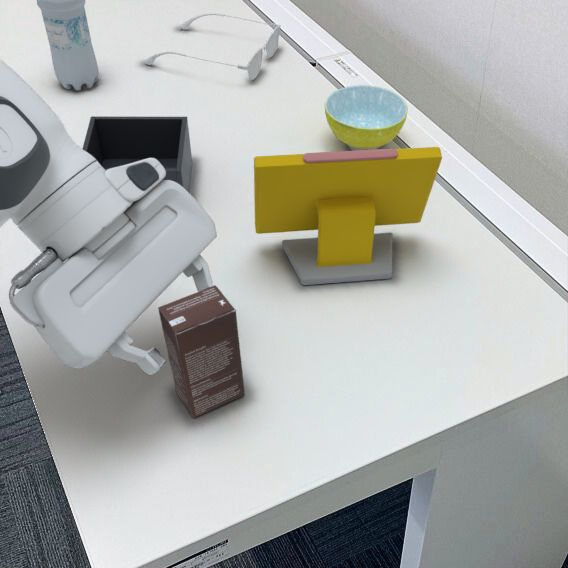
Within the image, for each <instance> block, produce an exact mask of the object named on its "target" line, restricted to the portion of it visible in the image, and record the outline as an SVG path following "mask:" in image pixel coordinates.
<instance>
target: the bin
mask: <svg viewBox="0 0 568 568" xmlns="http://www.w3.org/2000/svg"><path fill="white" fill-rule="evenodd" d="M88 122H89V123H88V127H87V130H86V133H85V137H84V142H83V145H82V147H81V148H82V149H83V150H84V151H86V152H88V153H89V154H90V155H92V156H93V157H94V158H95V159H96V161H98V162H99V163H100V165H101V166H102V167H103V168H104V169H105V170H108V169H110V168H114V167H119V166H123V165H126V164H130V163H133V162H137V161H140V160H143V159H147V158H155V159H157V160H158V161H159V162H160V163H161V165H162V166H163V167H164V169H165V171H166V176H165V177H164V179H163V180H162V181H164V180H171V181H174V182H176V183H178V184H180V185H181V186H182V187H183V188H184V189H185V190H186V191H188V192H189V193H190V190H191V189H190V188H191V179H192V177H191V176H192V168H193V167H192V166H193V156H192V147H191V138H190V130H189V121H188V116H107V115H106V116H105V115H104V116H103V115H102V116H101V115H100V116H97V115H96V116H93V115H92V116H90V118H89V121H88Z"/></svg>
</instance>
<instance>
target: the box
mask: <svg viewBox="0 0 568 568" xmlns="http://www.w3.org/2000/svg"><path fill="white" fill-rule="evenodd" d="M213 285H214V284H213ZM157 310H158V314H159V319H160V323H161V329H162V331H163V337H164V341H165V346H166V350H167V355H168V360H169V365H170V370H171V374H172V378H173V384H174V388H175V392H176V394H177V396H178V397H179V399H180V401H181V402H182V403H183V405H184V406H185V408H186V410H187V411H188V412H189V414H190V416H191V417H192V418H193V419H195V418H197V417H199V416H201V415H204V414H206V413H207V412H210V411H212V410H214V409H218V408H219V407H221V406H222V405H226V404H227V403H229V402H232V401H234V400H236V399H238V398H241V397H243V396H245V395H246V393H245V392H246V391H245V385H244V384H245V382H244V374H243V365H242V364H243V363H242V356H241V345H240V337H239V329H238V328H239V327H238V318H237V317H238V316H237V310H236V309H235V307H234V306H233V305H232V303H230V301H229V299H227V297H226V296H225V295H224V294H223V292H222V291H221V289H219V287H218V286H217V285H214V286H212V287H209V288H207V289H204V290H202V291H199V292H198V291H197V292H194V293H192V294H189V295H187V296H184V297H181V298H179V299H176V300H174V301H172V302H169V303H166V304H163V305H161V306H159V307H157Z"/></svg>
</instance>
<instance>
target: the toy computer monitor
mask: <svg viewBox="0 0 568 568" xmlns="http://www.w3.org/2000/svg"><path fill="white" fill-rule="evenodd" d="M442 160H443V155H442V151H441V148H440V147H439V146H428V147H425V146H424V147H410V148H409V147H408V148H378V149H375V150H356V151H353V150H339V151H337V150H336V151H323V152H322V151H320V152H319V151H318V152H306V153H297V154H296V153H295V154H293V153H292V154H277V155H258V156H257V155H256V156H254V157H253V190H254V193H253V195H254V230H255V234H257V235H258V234H259V235H260V234H275V233H276V234H277V233H290V232H304V231H305V232H306V231H317V237H308V238H293V239H292V238H291V239H283V240H281V247H282V249H283V251H284V253H285V254H286V256H287V258H288V261H289V263H290V264H291V266H292V268H293V270H294V272H295V274H296V276H297V277H298V280H299V281H300V284H301V285H303V286H309V285H323V284H334V283H335V284H336V283H347V282H348V283H349V282H360V281H361V282H363V281H372V280H373V281H375V280H387V279H388V280H389V279H392V277H393V237H394V236H393V233H392V232H379V233H375V227H377V226H378V227H379V226H392V225H408V224H419V223H421V221H422V218H423V216H424V212H425V209H426V206H427V204H428V200H429V198H430V195H431V192H432V190H433V186H434V183H435V180H436V177H437V175H438V172H439V168H440V165H441V163H442Z"/></svg>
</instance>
